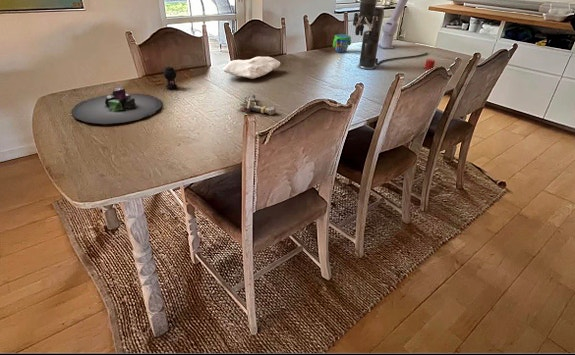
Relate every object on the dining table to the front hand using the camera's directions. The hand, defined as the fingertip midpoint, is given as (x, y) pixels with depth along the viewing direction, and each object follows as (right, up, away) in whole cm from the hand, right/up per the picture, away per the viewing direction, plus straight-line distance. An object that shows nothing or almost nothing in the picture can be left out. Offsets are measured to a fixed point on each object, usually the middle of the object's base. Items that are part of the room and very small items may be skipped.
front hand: (363, 36), depth 185 cm
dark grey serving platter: (-110, -43, -33) cm, 122 cm away
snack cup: (-2, +14, +63) cm, 65 cm away
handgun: (-52, -41, -27) cm, 71 cm away
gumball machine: (-95, -29, -10) cm, 100 cm away
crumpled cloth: (-59, -16, +12) cm, 62 cm away
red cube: (+48, -5, +36) cm, 60 cm away
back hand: (+17, +28, +70) cm, 77 cm away
